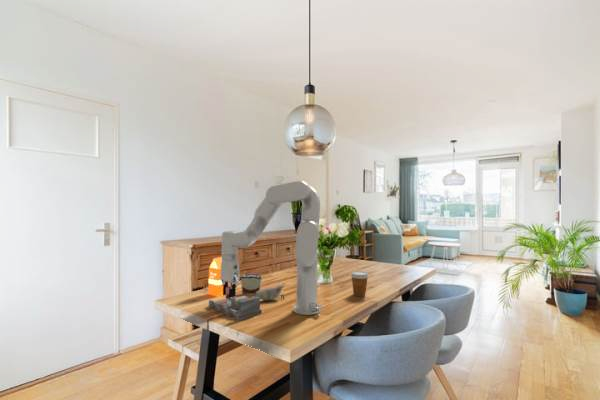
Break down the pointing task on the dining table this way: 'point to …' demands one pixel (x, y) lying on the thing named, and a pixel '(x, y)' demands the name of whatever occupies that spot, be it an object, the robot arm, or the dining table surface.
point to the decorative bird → (270, 293)
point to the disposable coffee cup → (359, 282)
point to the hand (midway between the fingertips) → (229, 295)
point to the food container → (250, 283)
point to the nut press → (244, 311)
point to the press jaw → (233, 300)
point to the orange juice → (215, 278)
